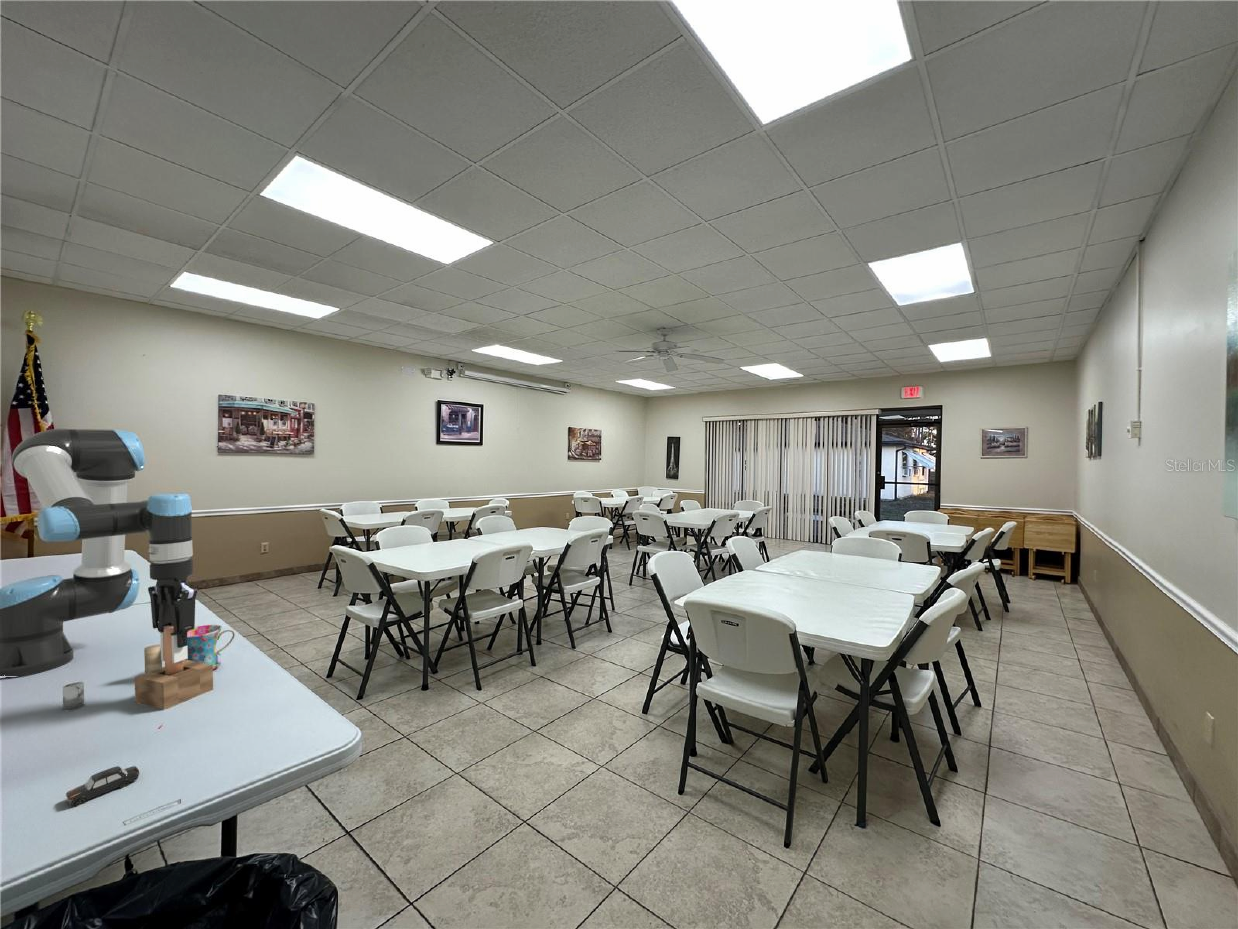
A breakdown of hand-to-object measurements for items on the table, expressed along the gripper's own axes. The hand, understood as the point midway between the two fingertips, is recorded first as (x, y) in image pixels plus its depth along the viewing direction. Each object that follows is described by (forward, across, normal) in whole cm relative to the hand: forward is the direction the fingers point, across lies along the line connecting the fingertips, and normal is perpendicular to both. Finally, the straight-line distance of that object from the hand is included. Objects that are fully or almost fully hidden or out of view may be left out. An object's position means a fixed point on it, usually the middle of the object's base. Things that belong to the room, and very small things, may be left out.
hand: (174, 659), depth 117 cm
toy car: (+9, +27, -24) cm, 37 cm away
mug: (+9, -9, +12) cm, 18 cm away
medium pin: (+9, -16, +4) cm, 19 cm away
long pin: (+4, 0, 0) cm, 4 cm away
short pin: (+9, -16, -10) cm, 21 cm away
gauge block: (+9, 0, 0) cm, 9 cm away
